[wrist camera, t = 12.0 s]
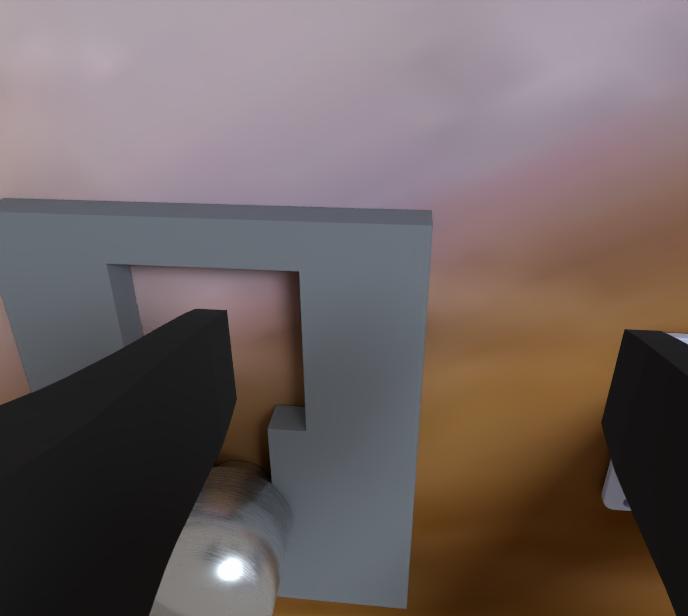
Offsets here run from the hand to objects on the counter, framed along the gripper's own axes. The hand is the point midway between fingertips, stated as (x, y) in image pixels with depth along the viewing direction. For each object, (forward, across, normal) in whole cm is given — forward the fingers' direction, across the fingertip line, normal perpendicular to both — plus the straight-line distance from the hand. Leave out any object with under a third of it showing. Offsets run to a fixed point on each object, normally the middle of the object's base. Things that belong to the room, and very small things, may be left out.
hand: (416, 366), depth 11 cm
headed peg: (+9, +7, +13) cm, 17 cm away
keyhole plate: (+9, +7, +9) cm, 15 cm away
